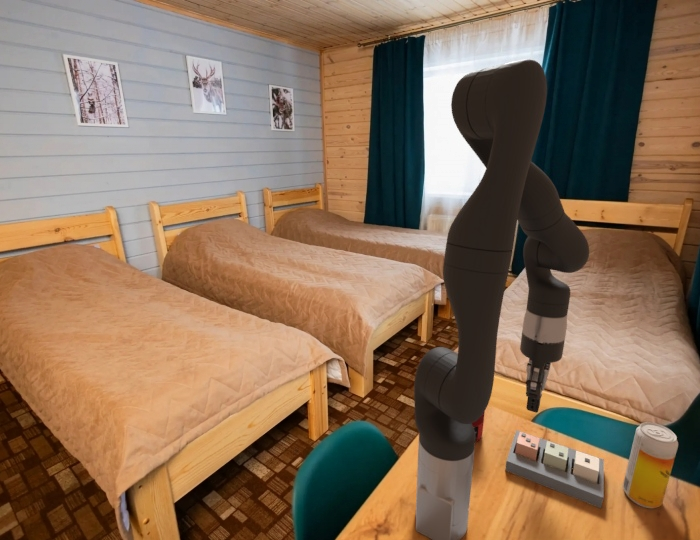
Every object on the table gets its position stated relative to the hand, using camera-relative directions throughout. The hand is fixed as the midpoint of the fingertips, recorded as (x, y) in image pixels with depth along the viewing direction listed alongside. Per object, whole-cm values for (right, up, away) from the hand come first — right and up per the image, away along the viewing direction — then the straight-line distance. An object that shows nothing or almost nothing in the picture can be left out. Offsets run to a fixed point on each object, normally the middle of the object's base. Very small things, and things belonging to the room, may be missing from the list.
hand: (532, 408), depth 79 cm
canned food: (-10, -10, +12) cm, 19 cm away
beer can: (+18, -15, -6) cm, 24 cm away
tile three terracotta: (0, -10, +3) cm, 11 cm away
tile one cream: (+9, -12, -3) cm, 15 cm away
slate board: (+5, -13, +1) cm, 14 cm away
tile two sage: (+5, -11, 0) cm, 12 cm away
